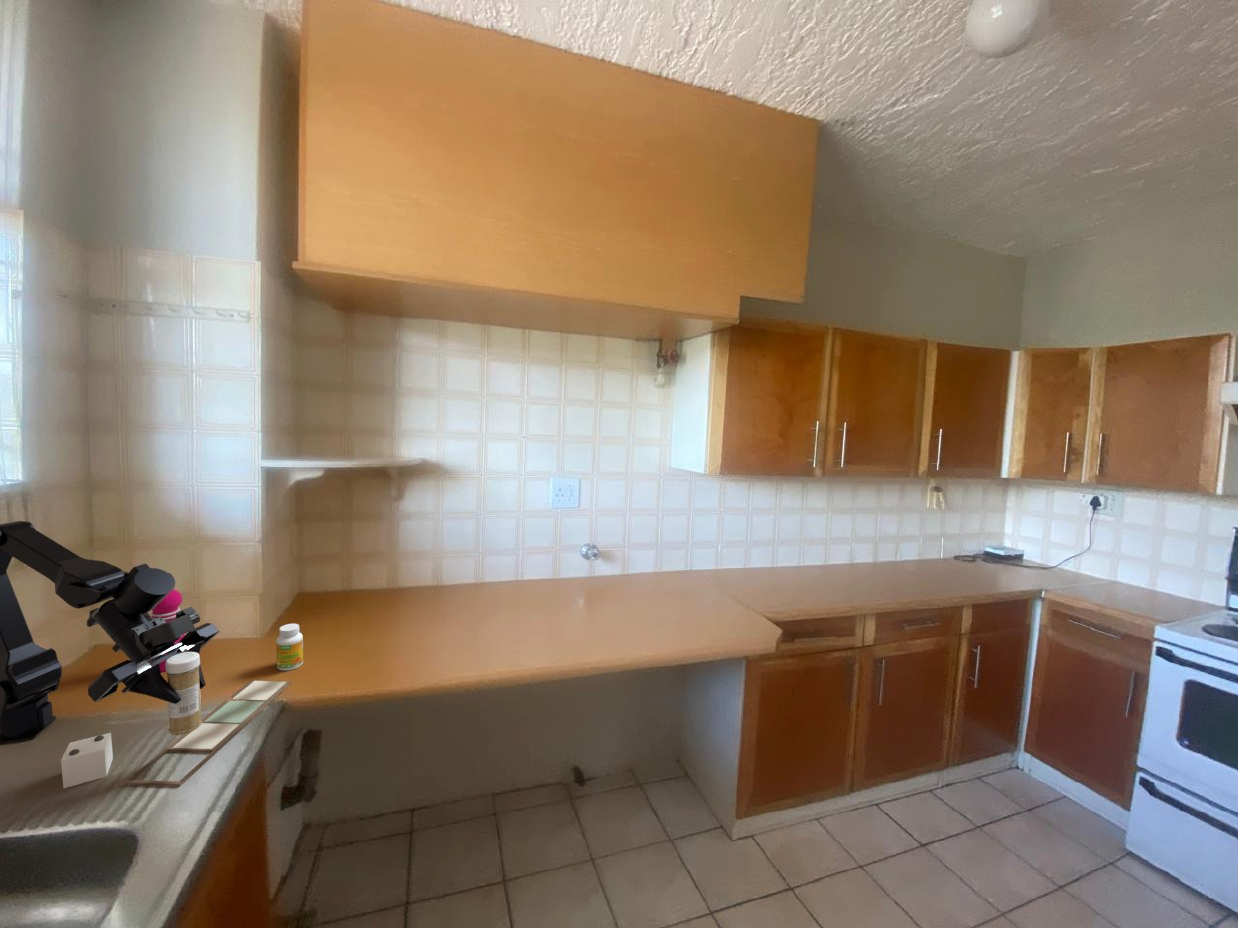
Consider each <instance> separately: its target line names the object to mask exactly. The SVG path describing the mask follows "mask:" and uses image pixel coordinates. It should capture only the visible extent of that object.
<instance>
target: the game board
mask: <svg viewBox="0 0 1238 928" xmlns="http://www.w3.org/2000/svg"><path fill="white" fill-rule="evenodd" d="M291 683H292V681H282V680H281V681H280V680H279V681H278V680H249V681H248V682H247V683H246V684H244V685H243V686H242V687H240V688H239V689H238V690H237V691H236V692H235V693H233V694H232V695H230V696H229V698H231V697H232V698H233V699H234V700H236V699H239V700H242V699H243V700H246V701H229V702H228V701H226V700H224V701H223V702H222V703H221V704H219V705H218V706H217V707H216V708H214V709H213V710H212V711H211V712H209V713H208V714H207V715H206V716H204V717H203V718H201V720H202V724H201V725H200V726H199V727H198V728H197V729H195V730H194V731H191V732H189V733H186V734H183V735H180V737H179V738H177V739H176V740H174V741H173V742H172V743H171V744H170V745H169V746H167V747H166V748H164V749H163V750H162V751H161V752H159V753H158V754H157V755H155V757H154V758H152V759H151V760H149V761H148V762H147V763H146V764H145V765H143V766H142V767H141V768H140V769H138V770H137V771H136V772H134V773H133V774H132V775H131V776H129V777H128V778H127V779H126V780H125V781H123V786H144V787H145V786H146V787H147V786H148V787H150V786H151V787H154V786H155V787H181V786H182V785H183V784H184V783H185V782H186V781H188V780H189V779H190V777H192V776H193V775H194V774H195V773H197V772H198V771H199V770H200V769H201V768H202V767H203V766H204V765H205V764H206V763H208V762H209V760H210V759H212V758H213V757H214V756H215V755H216V754H217V753H218V752H219V751H220V750H221V749H223V748H224V747H225V746H226V745H227V744H228V743H229V742H230V741H231V740H232V739H234V737H235V736H237V734H239V733H240V732H241V731H242V730H243V729H245V727H246V726H248V724H249V723H251V722H252V721H253V720H254V719H255V718H256V717H257V716H258V715H259V714H260V713H261V712H260V711H261V710H262V709H263V708H265V707H266V706H267V705H268V703H269V702H270V701H271V700H272V699H273V698H275V697H276V696H277V695H279V694H280V693H281V692H282V691H283V690H284V689H285V688H286V687H287V686H288V685H290V684H291ZM292 684H293V683H292ZM292 684H291V685H292ZM291 685H290V686H291ZM284 691H285V690H284ZM284 691H283V692H284ZM283 692H282V693H283ZM282 693H281V694H282ZM281 694H280V695H281ZM280 695H279V696H280ZM226 702H227V703H226ZM268 706H269V705H268ZM268 706H267V707H268ZM267 707H266V708H267ZM266 708H265V709H266ZM258 713H259V714H258ZM257 714H258V715H257ZM256 715H257V716H256ZM168 752H169V753H170V752H171V753H200V754H201V753H204V754H205V753H207V754H208V755H207V756H206V757H204V758H203V759H202V760H201V761H200V762H199V763H198V764H197V765H195V767H194V768H192V769H191V770H190V771H189V772H188V773H186V775H184V776H183V777H182V778H181V779H180V780H179V781H176V780H175V781H173V780H170V781H169V780H141V779H140V780H138V779H136V778H138V777H139V776H140V775H141V774H143V772H145V771H146V770H148V769H149V768H150V767H151V766H153V764H155V763H156V762H158V760H160V759H161V758H162V757H163V756H165V755H166V754H167V753H168Z"/></svg>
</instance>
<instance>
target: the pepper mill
mask: <svg viewBox="0 0 1238 928" xmlns="http://www.w3.org/2000/svg"><path fill="white" fill-rule="evenodd" d="M182 603H183V595H182V593H181V592H180V591H179V590H177V589H175V588H174V589H173V590H172V591H171V592H170V593H169V594H168V595H167V596H166V597H165V598H164V599H163V600H162V601H161V602H160V603H159V604H158V605H157V606H156V607H155V608H154V609H152V610H151V613H150V616H151V617H152V618H153V619H156V618H158V617H160V618H163V619H164V620H165V622H168V621H171V620H173V619H175V618H176V613H177V612H179V611H181V608H180V607H179V606H181V604H182ZM185 635H186V634H183V635H182V637H181V638H180V639H179V640H177V641H175V642H174V643H175V644H176V643H178V642H179V641H180V640H181V639H182V638H183V637H184V636H185ZM166 654H168V653H166ZM166 654H164V655H166ZM164 655H163V656H164ZM152 661H154V660H152ZM152 661H150V662H152ZM165 663H166V660H165V661H163V662H161V663H159V666H160V672H161V673H163V672H166V669H165Z"/></svg>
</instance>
